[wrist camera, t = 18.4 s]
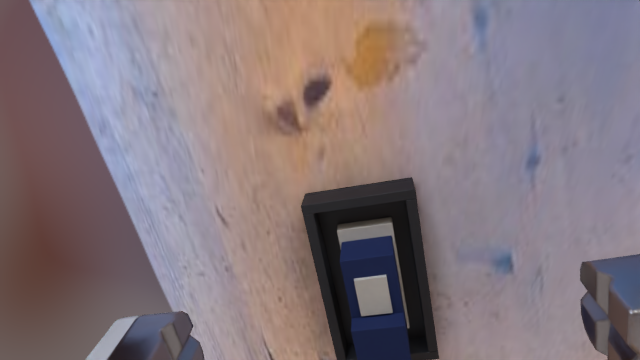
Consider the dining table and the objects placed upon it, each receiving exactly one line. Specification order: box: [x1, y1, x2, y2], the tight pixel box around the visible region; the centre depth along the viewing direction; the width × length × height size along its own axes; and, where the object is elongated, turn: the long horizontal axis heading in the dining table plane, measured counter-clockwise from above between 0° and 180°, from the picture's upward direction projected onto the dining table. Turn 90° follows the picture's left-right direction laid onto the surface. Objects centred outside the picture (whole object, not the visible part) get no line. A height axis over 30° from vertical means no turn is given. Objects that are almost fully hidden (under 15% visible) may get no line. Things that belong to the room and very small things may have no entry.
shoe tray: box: [301, 178, 439, 360], centre depth 38 cm, size 16×9×2 cm, turn 12°
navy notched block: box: [337, 217, 411, 360], centre depth 36 cm, size 10×4×6 cm, turn 12°
